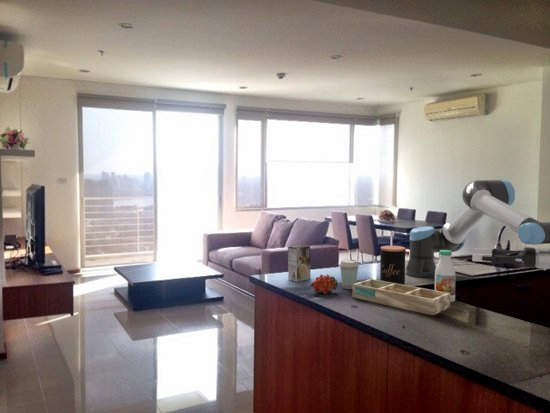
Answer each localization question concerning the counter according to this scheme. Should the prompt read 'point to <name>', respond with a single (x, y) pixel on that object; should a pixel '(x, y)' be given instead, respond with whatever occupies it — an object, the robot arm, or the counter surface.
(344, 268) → the coffee cup
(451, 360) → the counter surface
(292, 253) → the coffee box
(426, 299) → the wooden compartment tray
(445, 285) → the milk bottle
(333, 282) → the dragon fruit
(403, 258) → the coffee jar
